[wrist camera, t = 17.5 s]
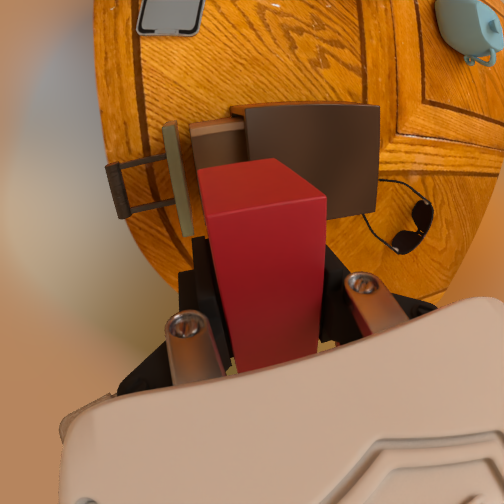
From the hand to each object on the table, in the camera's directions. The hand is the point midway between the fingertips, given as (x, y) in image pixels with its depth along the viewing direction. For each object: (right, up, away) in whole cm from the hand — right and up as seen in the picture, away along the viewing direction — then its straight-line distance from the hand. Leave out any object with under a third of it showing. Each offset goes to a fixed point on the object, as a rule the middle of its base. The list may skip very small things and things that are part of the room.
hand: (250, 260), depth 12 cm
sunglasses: (+23, +7, +31) cm, 39 cm away
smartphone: (-9, +31, +9) cm, 34 cm away
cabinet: (+5, +13, +23) cm, 27 cm away
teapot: (+35, +41, +14) cm, 56 cm away
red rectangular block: (0, 0, +1) cm, 1 cm away
